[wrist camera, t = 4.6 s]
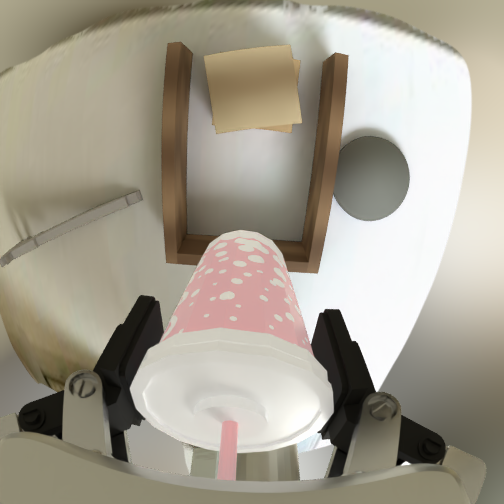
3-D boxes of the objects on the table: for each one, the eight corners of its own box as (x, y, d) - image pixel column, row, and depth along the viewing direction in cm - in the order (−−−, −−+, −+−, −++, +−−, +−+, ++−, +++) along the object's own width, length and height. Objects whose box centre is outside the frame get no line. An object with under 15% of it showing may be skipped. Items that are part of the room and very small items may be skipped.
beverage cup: (237, 190, 13) (157, 594, 1) (321, 266, 15) (406, 546, 2) (166, 271, 15) (61, 524, 3) (247, 329, 17) (237, 564, 4)
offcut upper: (295, 122, 19) (302, 123, 16) (221, 131, 19) (216, 134, 17) (285, 54, 16) (290, 44, 14) (210, 64, 17) (203, 56, 14)
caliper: (25, 246, 27) (-3, 270, 22) (22, 239, 27) (-6, 262, 21) (143, 198, 25) (115, 223, 19) (140, 188, 24) (110, 210, 19)
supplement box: (192, 447, 51) (186, 493, 39) (218, 444, 49) (213, 494, 38) (212, 457, 53) (208, 500, 42) (236, 454, 52) (234, 500, 40)
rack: (310, 252, 27) (317, 273, 23) (177, 242, 27) (166, 263, 23) (334, 64, 19) (348, 55, 15) (181, 53, 18) (167, 43, 15)
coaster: (355, 233, 26) (357, 236, 25) (314, 164, 23) (315, 166, 22) (417, 192, 24) (420, 194, 23) (384, 121, 21) (387, 121, 20)
